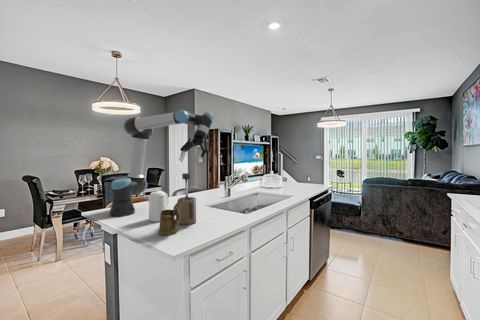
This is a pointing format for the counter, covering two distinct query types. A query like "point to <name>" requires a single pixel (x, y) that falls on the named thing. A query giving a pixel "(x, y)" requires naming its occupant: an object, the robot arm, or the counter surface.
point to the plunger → (186, 183)
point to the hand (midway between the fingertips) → (189, 161)
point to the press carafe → (187, 211)
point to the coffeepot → (157, 204)
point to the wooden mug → (169, 220)
